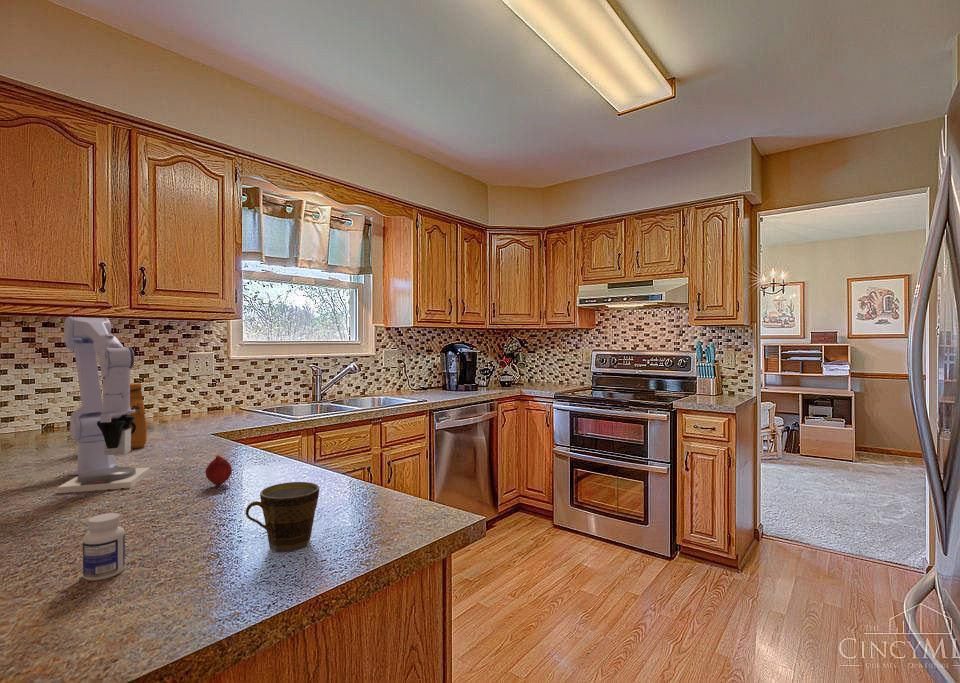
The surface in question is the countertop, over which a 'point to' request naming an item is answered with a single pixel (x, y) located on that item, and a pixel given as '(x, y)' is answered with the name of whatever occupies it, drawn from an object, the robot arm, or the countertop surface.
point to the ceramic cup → (288, 514)
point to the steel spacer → (120, 444)
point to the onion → (218, 470)
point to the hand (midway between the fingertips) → (116, 446)
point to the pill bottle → (103, 547)
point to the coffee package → (137, 417)
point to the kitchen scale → (105, 479)
